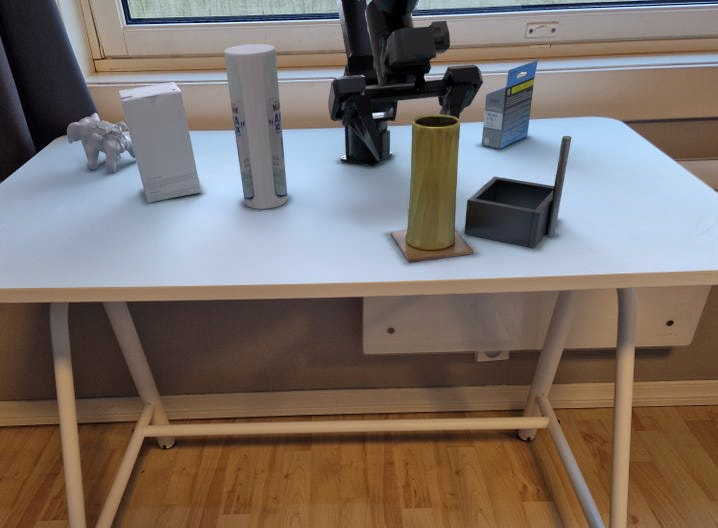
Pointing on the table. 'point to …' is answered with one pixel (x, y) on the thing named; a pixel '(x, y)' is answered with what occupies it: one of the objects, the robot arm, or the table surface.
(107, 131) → the elephant statuette
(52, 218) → the table surface
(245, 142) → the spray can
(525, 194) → the holder
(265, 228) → the table surface
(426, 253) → the cork pad
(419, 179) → the vase
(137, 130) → the cosmetic box
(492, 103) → the tape cartridge
